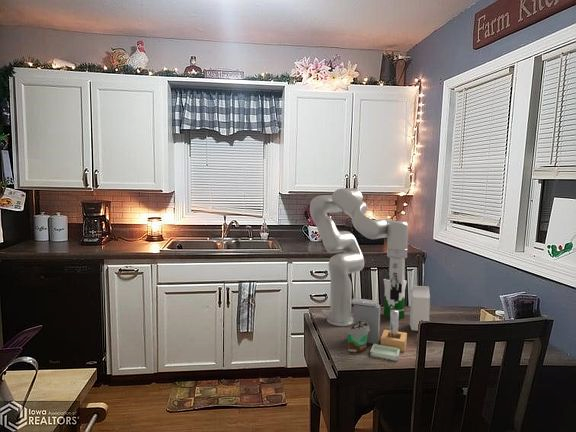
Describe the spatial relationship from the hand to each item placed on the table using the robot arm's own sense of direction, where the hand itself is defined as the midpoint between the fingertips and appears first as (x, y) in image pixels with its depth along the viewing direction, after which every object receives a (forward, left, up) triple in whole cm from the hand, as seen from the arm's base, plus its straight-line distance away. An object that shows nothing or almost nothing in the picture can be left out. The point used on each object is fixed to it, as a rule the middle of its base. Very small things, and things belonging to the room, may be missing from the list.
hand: (396, 296), depth 151 cm
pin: (0, 0, -20) cm, 20 cm away
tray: (-2, -9, -20) cm, 22 cm away
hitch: (-6, 0, -20) cm, 21 cm away
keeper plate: (-12, 0, -5) cm, 13 cm away
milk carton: (+8, +22, -20) cm, 31 cm away
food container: (-12, -9, -20) cm, 25 cm away
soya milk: (-4, +32, -20) cm, 38 cm away
